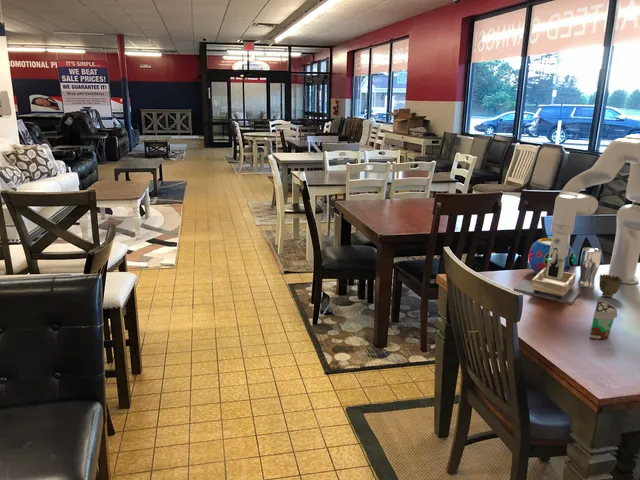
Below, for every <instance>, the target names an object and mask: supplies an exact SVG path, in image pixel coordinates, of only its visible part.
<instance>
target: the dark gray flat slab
mask: <svg viewBox="0 0 640 480" xmlns="http://www.w3.org/2000/svg"><path fill="white" fill-rule="evenodd" d="M531 283H532V280H529V279H522V280H521V281H520V282H519V283H518V284H517V285H515V286H514V287H513V290H515V291H514V292H517V291H518V292H517V293H521V294H524V295H525V294H526V295H531V296H533V297H537V298H543V299H547V300H550V301H554V302H559V303H562V304H566V303H567V305H571V306H572V305H573V303H574V302H575V301H576V299H577V298H578V297H579V295H580V291H576V290H573V289H569V290H568V292H567V293H566V294H565V295H564V297H562V298H561V299H558V298H557V297H556V295H554V294H550V293H546V292H542V291H540V292H539V293H538V294H536V293H534V290H533V289H531Z"/></svg>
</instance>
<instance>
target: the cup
mask: <svg viewBox="0 0 640 480" xmlns="http://www.w3.org/2000/svg"><path fill="white" fill-rule="evenodd" d="M621 282H622V279H621V280H620V277H618V276H615V277H614V275H613V276H612V277H611V275H610V274H609V275H607V274H606V275H605V276H604V274H600V275H599V284H598V285H599V290H600V291H601V294H602V295H601V296H602V297H604V298H606V299H612V298H613V297H614V295H615V294H617V293H618V291H619V290H620V288H621V285H622V283H621Z"/></svg>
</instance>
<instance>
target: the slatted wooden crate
mask: <svg viewBox="0 0 640 480" xmlns="http://www.w3.org/2000/svg"><path fill="white" fill-rule="evenodd" d="M546 270H547V268H544V269H543V270H541V271H540V272H539V273H538V274H537V273H536V276H534V277H533V278H532V279H531V281H532V283H531V289H533V290H534V293H536V294H538V293H539V292H540V291H542V292H546V293H550V294H554V295H556V297H557V298H558V299H561V298H562V297H564V295H565V294H566V293H567V292H568V290H571V288H572V287H573V285H574V284H575V282H576V276H577V275H576V273H573V272H569V271H568V272H563V276H562V277H561V278H560V280H559V279H554V278H550V277H545V276H546Z"/></svg>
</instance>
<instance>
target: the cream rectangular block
mask: <svg viewBox="0 0 640 480" xmlns="http://www.w3.org/2000/svg"><path fill="white" fill-rule="evenodd" d="M556 259H558V257H556ZM565 260H566V259H564V260H561V259H560V260H559V264H558V267H559V269H558V275H557V277H552V276H548V271H549V266H550V261H551V258H549V259H548V264H547V270H546V276H545V277H550V278H554V279H559V280H560V278H561V277H562V276H563V271H564V265H565ZM556 262H557V260H556Z"/></svg>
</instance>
